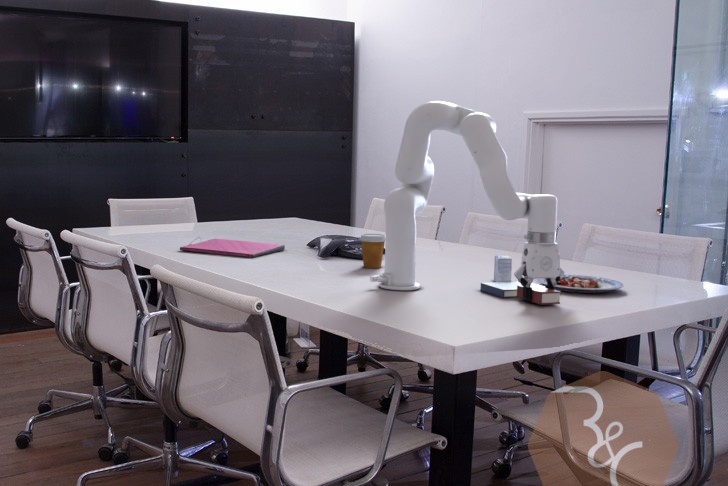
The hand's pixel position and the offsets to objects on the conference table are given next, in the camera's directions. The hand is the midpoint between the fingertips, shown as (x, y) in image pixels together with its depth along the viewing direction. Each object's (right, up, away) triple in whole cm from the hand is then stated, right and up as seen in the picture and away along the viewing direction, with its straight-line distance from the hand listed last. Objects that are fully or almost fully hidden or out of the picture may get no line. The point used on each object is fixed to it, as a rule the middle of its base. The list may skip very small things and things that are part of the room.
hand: (538, 299), depth 220 cm
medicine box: (+1, +3, +32) cm, 32 cm away
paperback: (0, 0, 0) cm, 0 cm away
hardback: (-1, +1, +14) cm, 14 cm away
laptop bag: (-89, +12, +107) cm, 140 cm away
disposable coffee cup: (-36, +7, +64) cm, 74 cm away
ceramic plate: (+22, +1, +23) cm, 32 cm away
